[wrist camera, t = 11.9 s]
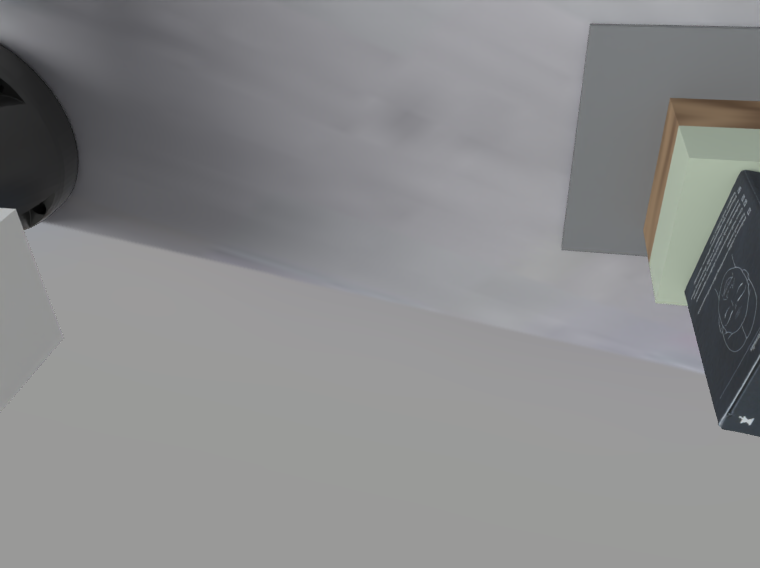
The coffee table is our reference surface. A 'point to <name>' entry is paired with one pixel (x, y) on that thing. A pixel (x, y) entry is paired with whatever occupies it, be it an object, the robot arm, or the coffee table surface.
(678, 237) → the tower top
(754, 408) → the box
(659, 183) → the tower bottom
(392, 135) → the coffee table surface
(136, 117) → the coffee table surface
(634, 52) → the felt mat
